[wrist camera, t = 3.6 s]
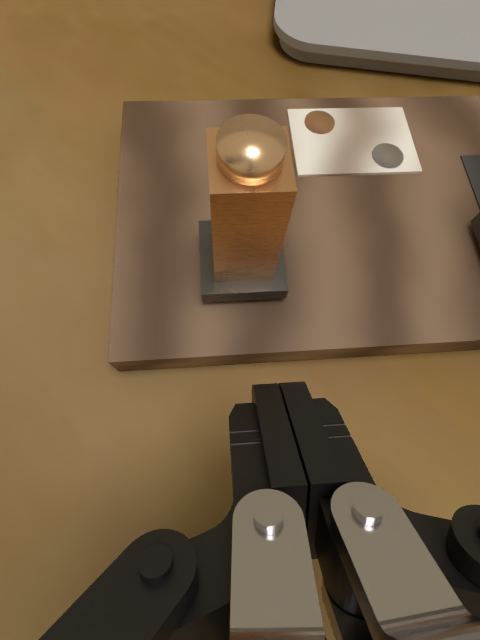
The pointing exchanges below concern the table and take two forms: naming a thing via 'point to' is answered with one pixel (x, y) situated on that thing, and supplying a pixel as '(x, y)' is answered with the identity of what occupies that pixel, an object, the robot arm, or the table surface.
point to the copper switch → (247, 210)
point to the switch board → (304, 234)
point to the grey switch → (476, 227)
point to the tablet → (384, 35)
